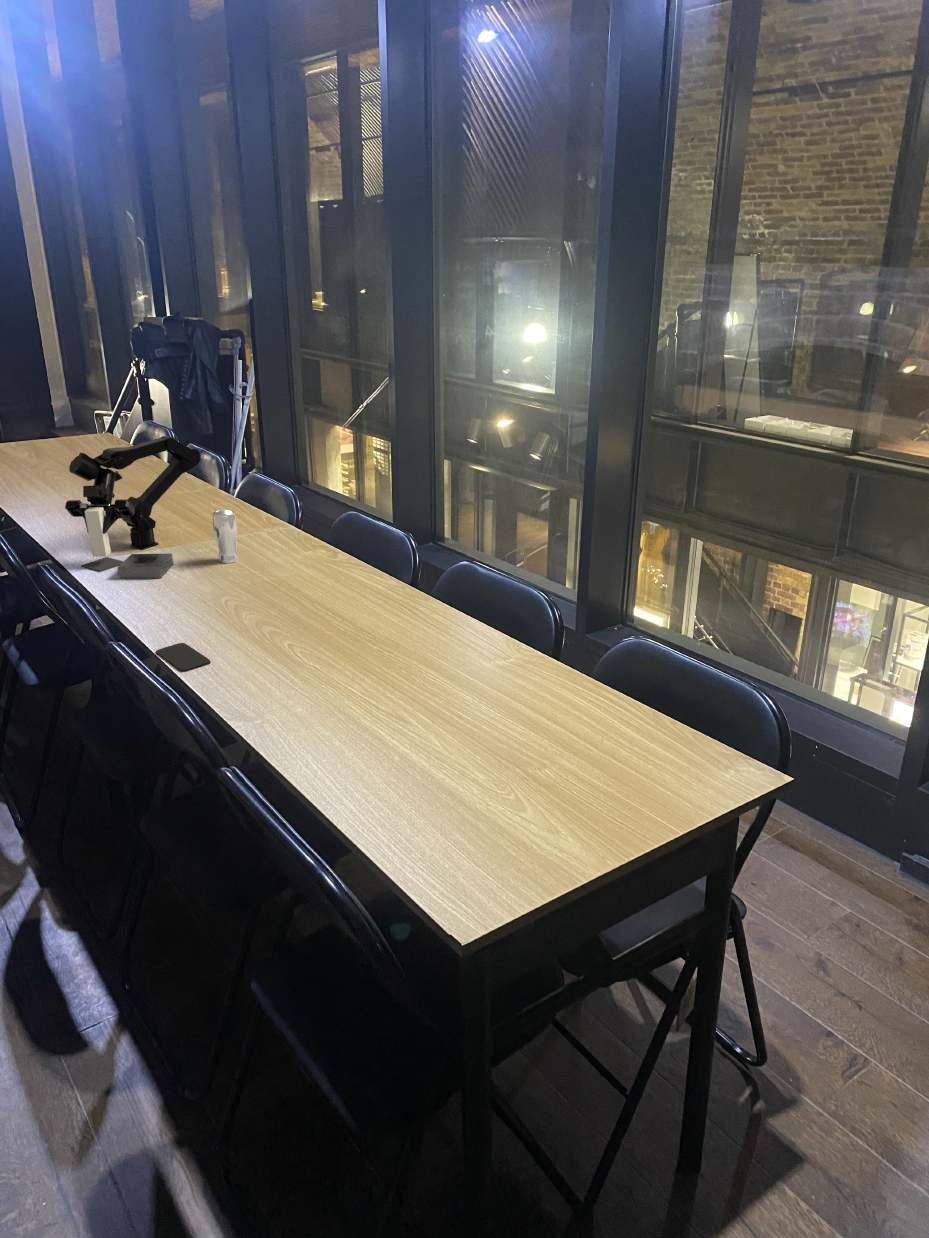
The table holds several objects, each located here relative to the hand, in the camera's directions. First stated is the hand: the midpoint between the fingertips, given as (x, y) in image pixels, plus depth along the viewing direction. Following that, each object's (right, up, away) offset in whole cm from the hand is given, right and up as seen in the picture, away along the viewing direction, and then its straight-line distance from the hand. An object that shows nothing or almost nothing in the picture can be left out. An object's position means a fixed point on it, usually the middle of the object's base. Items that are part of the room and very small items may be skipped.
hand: (96, 533), depth 259 cm
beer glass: (+37, -8, +9) cm, 39 cm away
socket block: (+15, -11, 0) cm, 19 cm away
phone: (+43, -35, -55) cm, 78 cm away
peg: (0, -6, +4) cm, 7 cm away
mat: (0, -9, +5) cm, 10 cm away
